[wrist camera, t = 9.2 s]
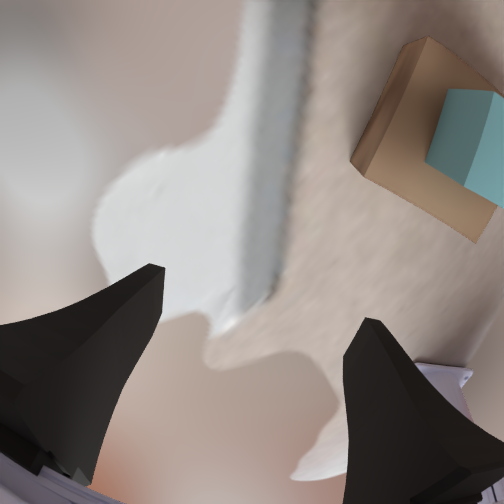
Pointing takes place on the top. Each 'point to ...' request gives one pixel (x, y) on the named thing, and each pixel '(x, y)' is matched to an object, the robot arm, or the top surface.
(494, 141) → the teal cube
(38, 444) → the robot arm
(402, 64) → the walnut block
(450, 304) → the top surface
